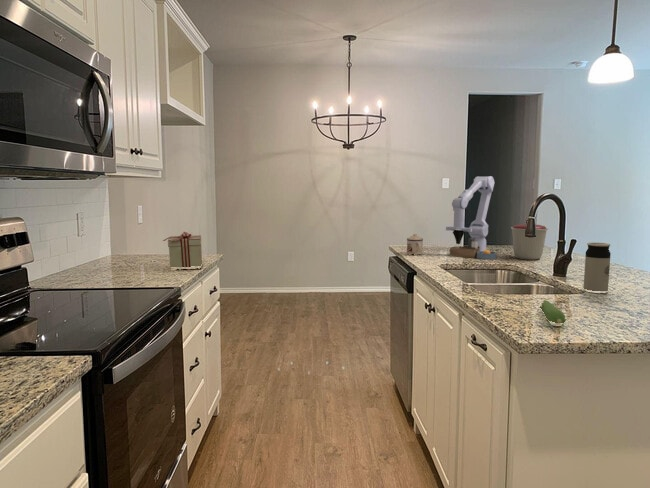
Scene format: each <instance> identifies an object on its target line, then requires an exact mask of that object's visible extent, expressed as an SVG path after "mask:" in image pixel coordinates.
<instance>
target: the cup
mask: <svg viewBox="0 0 650 488" xmlns="http://www.w3.org/2000/svg"><path fill="white" fill-rule="evenodd" d="M497 258H498V253H497V252H496V251H490V254H483V251H478V252H476V259H478V260H485V259H492V260H497Z"/></svg>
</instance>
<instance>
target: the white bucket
mask: <svg viewBox="0 0 650 488" xmlns="http://www.w3.org/2000/svg"><path fill="white" fill-rule="evenodd" d="M527 221H528V219H526V220H525V223H521V224H515V225H512V226H511V227H510V229H511V230H512V231H511V233H512V234H511V235H512V246H513V254H514V257H516V258H517V259H519V260H524V261H525V260H527V261H530V260H531V261H533V260H535V261H536V260H540V259H541V258H542V256H543V252H544V247H545V242H546V237H547V231H548V230H549V228H548V227H546V226H545V225H542V224H535V227H536V237H535V238H528V237H525V229H526V225H527Z"/></svg>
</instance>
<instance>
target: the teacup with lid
mask: <svg viewBox="0 0 650 488" xmlns="http://www.w3.org/2000/svg"><path fill="white" fill-rule="evenodd" d="M423 241H424V238H422V237H420V236H419V235H418V234H417V233H413V234H412V235H411V236H409V237H407V238H406V254H407V255H408V254H415V255H414V256H418V255H417V254H422V255H423Z"/></svg>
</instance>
